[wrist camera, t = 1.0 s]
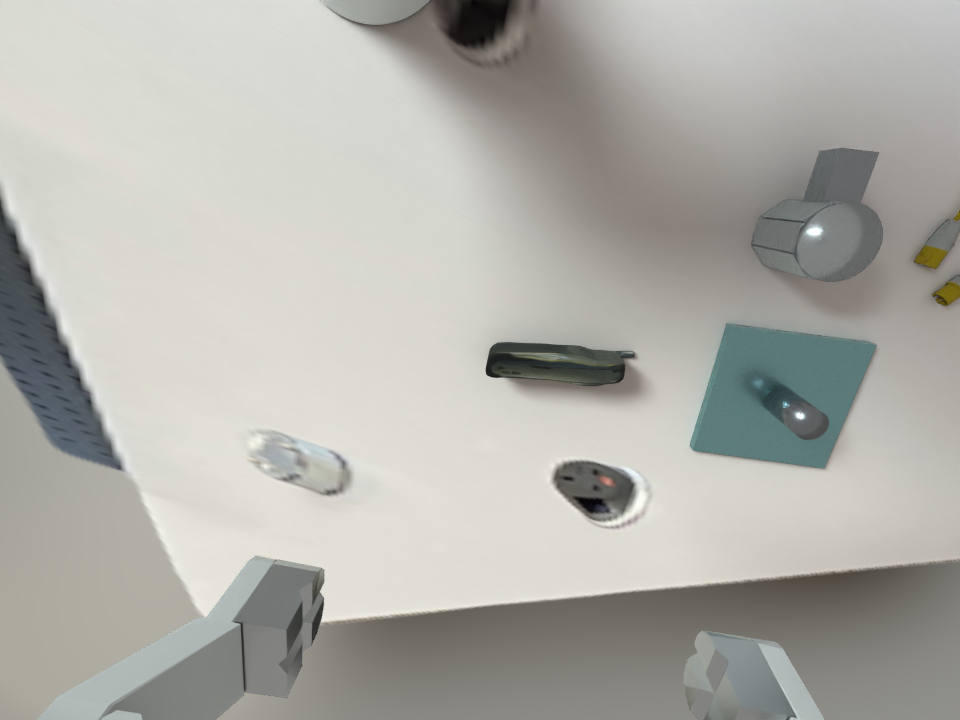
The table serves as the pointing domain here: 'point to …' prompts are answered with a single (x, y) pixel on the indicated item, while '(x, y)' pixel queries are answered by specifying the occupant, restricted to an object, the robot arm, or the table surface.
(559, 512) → the table surface
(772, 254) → the tabbed metal cylinder
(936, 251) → the yellow thin looped cord
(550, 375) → the mobile phone
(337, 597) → the table surface
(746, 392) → the flat teal square plate
